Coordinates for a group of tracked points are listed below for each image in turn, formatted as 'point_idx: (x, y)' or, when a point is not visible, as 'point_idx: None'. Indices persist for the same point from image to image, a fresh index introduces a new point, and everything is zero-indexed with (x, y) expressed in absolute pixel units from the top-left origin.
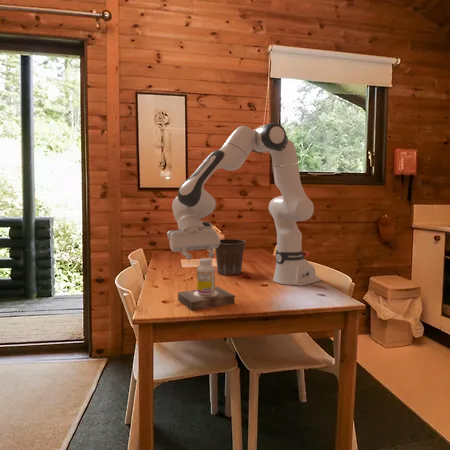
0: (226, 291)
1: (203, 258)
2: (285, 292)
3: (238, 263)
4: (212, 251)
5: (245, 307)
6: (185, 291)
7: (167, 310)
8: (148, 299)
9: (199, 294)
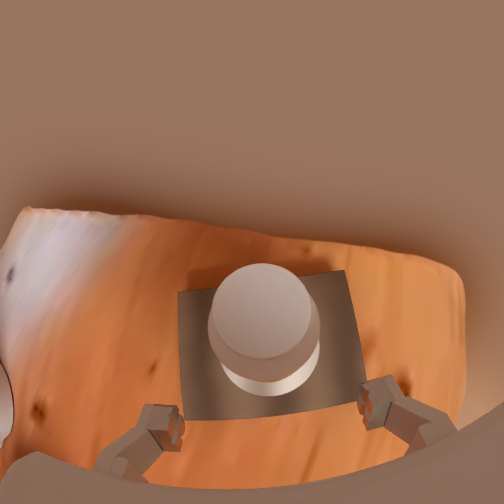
0: (181, 346)
1: (268, 341)
2: (35, 325)
3: None
4: (141, 425)
5: (177, 257)
6: (338, 403)
7: (403, 304)
8: None
9: None
